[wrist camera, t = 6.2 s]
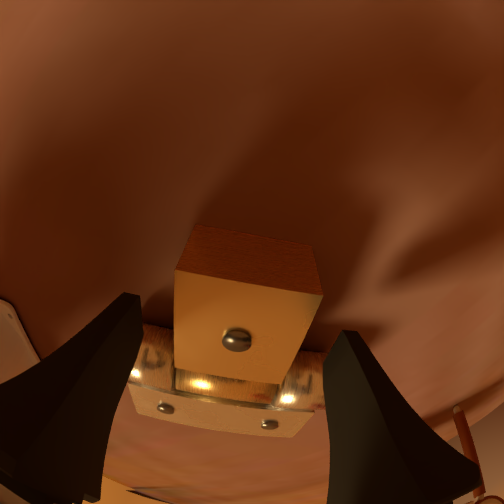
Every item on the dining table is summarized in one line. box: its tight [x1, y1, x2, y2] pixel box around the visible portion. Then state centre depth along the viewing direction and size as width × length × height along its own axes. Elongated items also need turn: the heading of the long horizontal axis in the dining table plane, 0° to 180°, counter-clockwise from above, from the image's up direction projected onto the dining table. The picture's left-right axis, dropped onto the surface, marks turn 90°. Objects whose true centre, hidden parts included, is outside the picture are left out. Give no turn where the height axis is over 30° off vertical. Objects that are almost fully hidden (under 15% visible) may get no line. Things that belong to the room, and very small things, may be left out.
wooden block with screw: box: [174, 224, 323, 404], centre depth 11 cm, size 8×4×3 cm, turn 170°
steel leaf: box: [128, 323, 328, 437], centre depth 14 cm, size 7×10×3 cm
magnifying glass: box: [453, 405, 504, 504], centre depth 11 cm, size 9×2×20 cm, turn 76°
